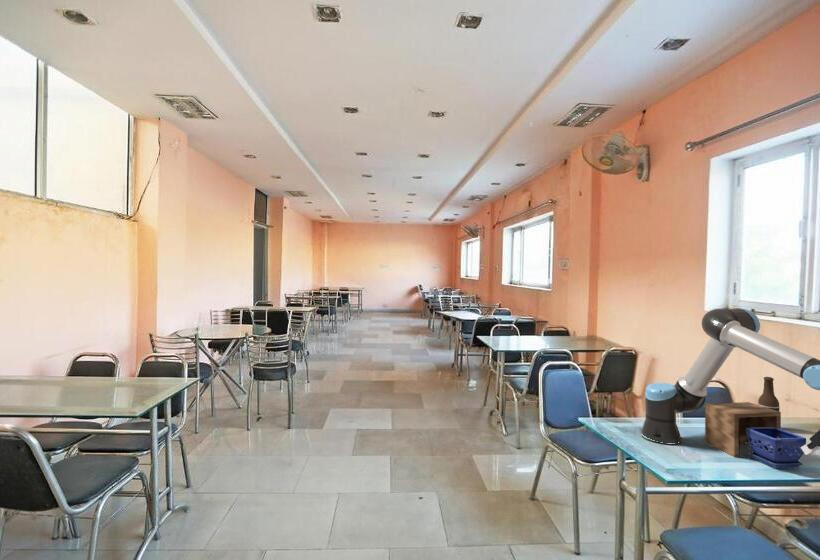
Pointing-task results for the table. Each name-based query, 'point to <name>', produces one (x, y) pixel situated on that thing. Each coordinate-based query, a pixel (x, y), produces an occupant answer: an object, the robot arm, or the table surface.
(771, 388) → the beer bottle
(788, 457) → the flower pot
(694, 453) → the table surface
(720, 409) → the shelf
